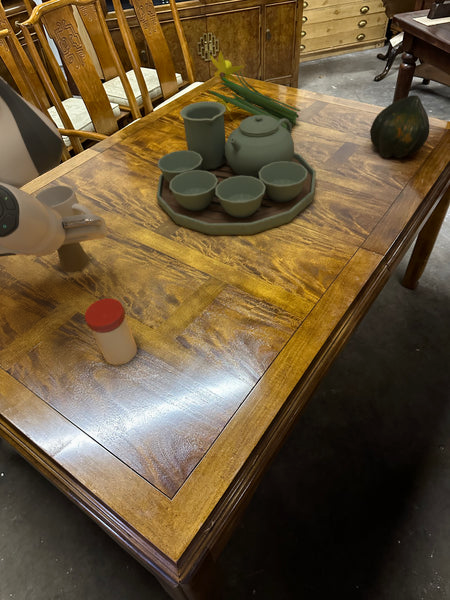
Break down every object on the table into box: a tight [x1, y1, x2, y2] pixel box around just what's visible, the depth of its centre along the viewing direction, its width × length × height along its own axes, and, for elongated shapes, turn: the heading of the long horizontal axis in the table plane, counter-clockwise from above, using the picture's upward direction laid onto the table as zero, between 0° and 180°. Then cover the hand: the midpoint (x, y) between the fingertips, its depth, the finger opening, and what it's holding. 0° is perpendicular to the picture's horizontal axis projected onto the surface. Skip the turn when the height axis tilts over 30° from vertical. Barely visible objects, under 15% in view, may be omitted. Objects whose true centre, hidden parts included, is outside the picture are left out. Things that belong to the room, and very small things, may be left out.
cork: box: [56, 242, 90, 273], centre depth 87 cm, size 6×6×11 cm
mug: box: [34, 185, 93, 218], centre depth 96 cm, size 13×9×10 cm
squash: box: [369, 94, 430, 159], centre depth 111 cm, size 14×15×15 cm
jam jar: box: [90, 315, 138, 366], centre depth 70 cm, size 6×6×10 cm
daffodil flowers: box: [205, 50, 301, 130], centre depth 131 cm, size 17×15×35 cm
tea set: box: [156, 100, 317, 236], centre depth 101 cm, size 40×40×16 cm
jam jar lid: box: [84, 297, 127, 333], centre depth 66 cm, size 6×6×2 cm
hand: (62, 240), depth 84 cm, fingers open, 8 cm apart
